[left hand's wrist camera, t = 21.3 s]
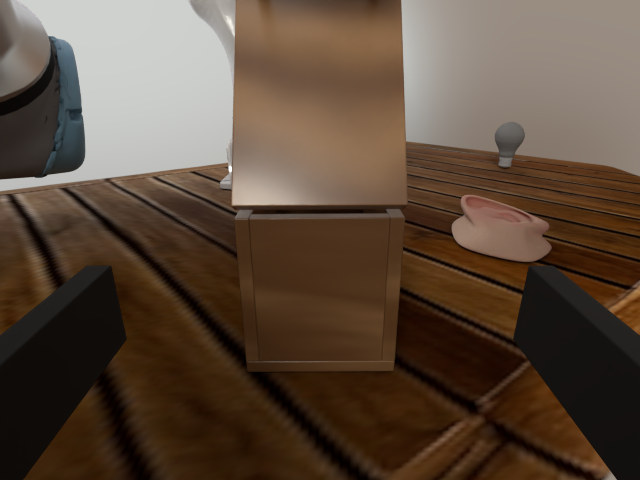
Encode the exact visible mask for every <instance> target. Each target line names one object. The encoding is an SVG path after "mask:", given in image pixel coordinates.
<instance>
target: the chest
mask: <svg viewBox="0 0 640 480" xmlns="http://www.w3.org/2000/svg"><path fill="white" fill-rule="evenodd" d="M234 223H235V235H236V246H237V258H238V269H239V281H240V292H241V304H242V315H243V327H244V338H245V350H246V360H247V371H248V372H322V371H394V360H395V349H396V335H397V322H398V308H399V294H400V281H401V267H402V254H403V240H404V226H405V217H404V215H403V214H402V212H401V211H400V209H329V210H240V211H239V212H238V214H237V215H236V217H235V219H234Z"/></svg>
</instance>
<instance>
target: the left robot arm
mask: <svg viewBox="0 0 640 480" xmlns="http://www.w3.org/2000/svg"><path fill="white" fill-rule="evenodd" d="M81 113H82V107H81V94H80V86H79V79H78V73H77V67H76V61H75V56H74V52H73V49H72V47H71V45H70V44H69V43H68V42H66V41H64V40H61V39H56V38H55V37H53V36H52V37H51V36H48V35H47V33H46V31H45V29H44V27H43V25H42V24H41V22H40V20H39V19H38V18H37V17H36V16H35V15H34V13H32V12H31V11H30V10H29V9H28V8H27V7H26V6H24V5H23V4H21V3H20V2H19V1H17V0H0V179H12V178H25V177H35V178H42V177H45V176H47V175H49V174H57V173H65V172H71V171H74V170H76V169H78V168H79V167H80V166H81V165H82V163H83V161H84V158H85V134H84V123H83V116H82V114H81ZM126 340H127V338H126V333H125V329H124V324H123V319H122V315H121V310H120V305H119V301H118V296H117V291H116V287H115V282H114V277H113V273H112V268H111V266H86V267H85V268H83V269H82V270H81V271H80V272H78V273H77V274H76V275H75V276H73V277H72V278H71V279H70V280H68V281H67V282H66V283H65V284H64V285H62V286H61V287H60V288H59V289H57V290H56V291H55V292H54V293H52V294H51V295H50V296H49V297H47V298H46V299H45V300H44V301H42V302H41V303H40V304H39V305H37V306H36V307H35V308H34V309H33V310H31V311H30V312H29V313H28V314H26V315H25V316H24V317H23V318H21V319H20V320H19V321H18V322H16V323H15V324H14V325H13V326H11V327H10V328H9V329H8V330H6V331H5V332H4V333H3V334H2V335H0V480H23V479H24V478H25V476H26V475H27V474H28V472H29V471H30V469H31V468H32V467H33V465H34V464H35V463H36V461H37V460H38V459H39V457H40V456H41V455H42V453H43V452H44V451H45V449H46V448H47V446H48V445H49V444H50V442H51V441H52V440H53V438H54V437H55V436H56V434H57V433H58V432H59V430H60V429H61V428H62V426H63V425H64V423H65V422H66V421H67V419H68V418H69V417H70V415H71V414H72V413H73V411H74V410H75V409H76V407H77V406H78V405H79V403H80V402H81V400H82V399H83V398H84V396H85V395H86V394H87V392H88V391H89V390H90V388H91V387H92V386H93V384H94V383H95V381H96V380H97V379H98V377H99V376H100V375H101V373H102V372H103V371H104V369H105V368H106V367H107V365H108V364H109V363H110V361H111V360H112V358H113V357H114V356H115V354H116V353H117V352H118V350H119V349H120V348H121V346H122V345H123V344H124V342H125V341H126ZM513 340H514V341H515V342H516V344H517V345H518V346H519V348H520V349H521V350H522V352H523V353H524V354H525V356H526V357H527V358H528V360H529V361H530V363H531V364H532V365H533V367H534V368H535V369H536V371H537V372H538V373H539V375H540V376H541V377H542V379H543V380H544V381H545V383H546V384H547V386H548V387H549V388H550V390H551V391H552V392H553V394H554V395H555V396H556V398H557V399H558V400H559V402H560V403H561V405H562V406H563V407H564V409H565V410H566V411H567V413H568V414H569V415H570V417H571V418H572V419H573V421H574V422H575V423H576V425H577V426H578V428H579V429H580V430H581V432H582V433H583V434H584V436H585V437H586V438H587V440H588V441H589V442H590V444H591V445H592V446H593V448H594V449H595V451H596V452H597V453H598V455H599V456H600V457H601V459H602V460H603V461H604V463H605V464H606V465H607V467H608V468H609V469H610V471H611V472H612V474H613V475H614V476H615V478H616V479H617V480H640V335H638V334H637V333H636V332H635V331H634V330H632V329H631V328H630V327H629V326H627V325H626V324H625V323H624V322H622V321H621V320H620V319H619V318H617V317H616V316H615V315H614V314H612V313H611V312H610V311H609V310H607V309H606V308H605V307H604V306H603V305H601V304H600V303H599V302H598V301H596V300H595V299H594V298H593V297H591V296H590V295H589V294H588V293H586V292H585V291H584V290H583V289H581V288H580V287H579V286H578V285H576V284H575V283H574V282H573V281H572V280H570V279H569V278H568V277H567V276H565V275H564V274H563V273H562V272H560V271H559V270H558V269H557V268H555V267H554V266H529V268H528V273H527V277H526V282H525V287H524V291H523V296H522V301H521V305H520V310H519V315H518V319H517V324H516V329H515V333H514V338H513Z"/></svg>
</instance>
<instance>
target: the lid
mask: <svg viewBox="0 0 640 480" xmlns="http://www.w3.org/2000/svg"><path fill="white" fill-rule="evenodd" d="M407 205H408V195H407V164H406V134H405V103H404V73H403V42H402V12H401V0H236V7H235V52H234V97H233V141H232V186H231V206H232V207H233V208H234V209H235V210H329V209H404V208H405V207H406V206H407Z"/></svg>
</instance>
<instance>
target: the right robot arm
mask: <svg viewBox="0 0 640 480" xmlns="http://www.w3.org/2000/svg"><path fill="white" fill-rule="evenodd" d="M188 1H189V3H190V5H191V7H192V9H193V10H194V11H195V13H196V14H197V15H198V16H199V17H200V18H201V19H203V20H204V21H205V22H206V23H207V24H208V25H209V26H210V27H211V28H212V29H213V30H214V31H215V33H216V34H217V36H218V37H219V39H220V41H221V42H222V44H223V46H224V49H225V51H226V53H227V56H228V59H229V63H230V68H231V74H232V82H233V90H234V52H235V7H236V0H188ZM232 141H233V138H232V139H231V140H230V142H228V148H227V158H228V161H229V164H228V169H229V174H228V175H227V176H226V177H225V178H224V179H223V180H222V181H221V182H220V188H223V189H231V186H232Z"/></svg>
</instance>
